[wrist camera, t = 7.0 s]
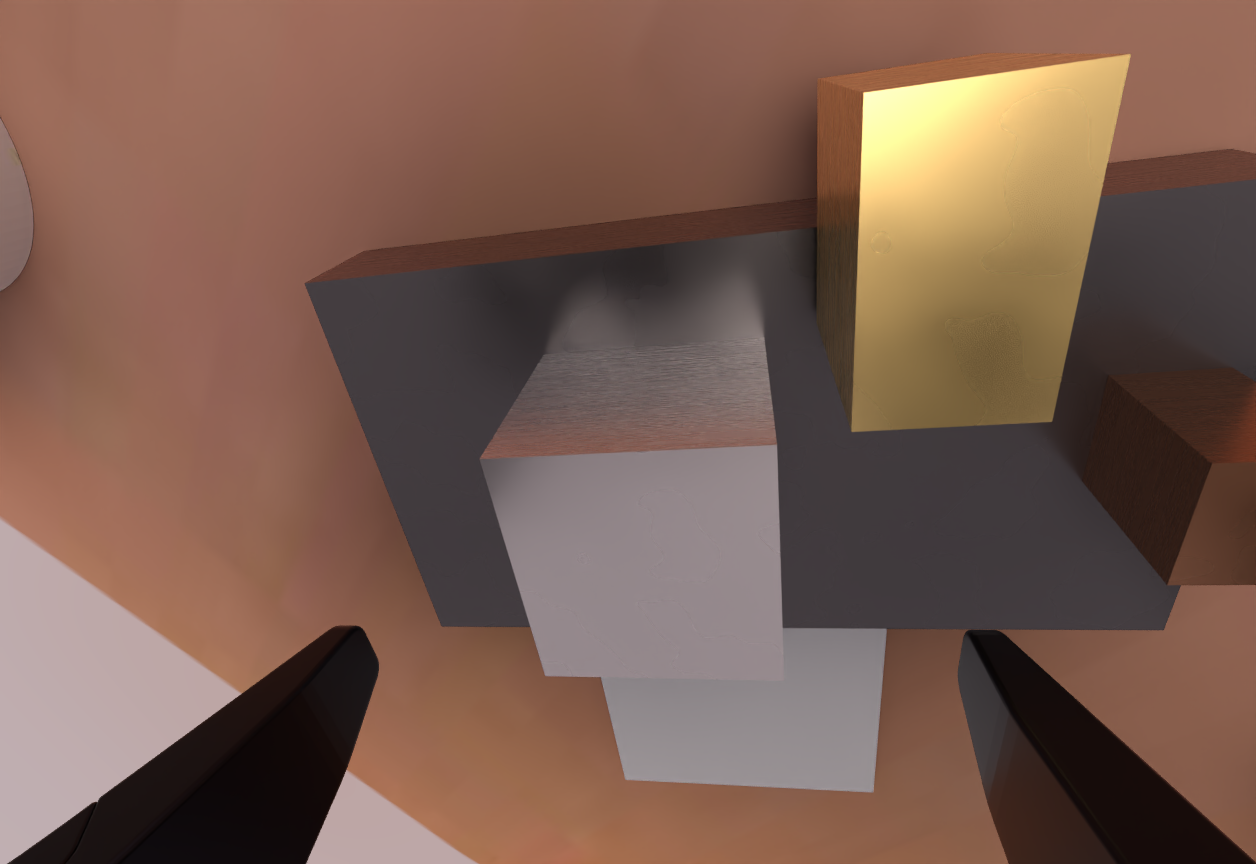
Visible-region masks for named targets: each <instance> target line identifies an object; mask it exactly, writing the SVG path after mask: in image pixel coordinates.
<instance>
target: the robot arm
mask: <svg viewBox="0 0 1256 864" xmlns="http://www.w3.org/2000/svg"><path fill="white" fill-rule="evenodd" d="M378 671H379V662H378V658H377V656H376V654H375V652H374V650H373V648H372V646H371V644H370V642H369V640H368V638H367V636H366V633H365V632H364V630H363V629H362V628H361V627H359V626H335V627H333V628H331V629H330V630H328V631H327V632H325V633H324V634H323V635H321V636H320V637H319V638H317V639H316V640H315V641H313V642H312V643H310V644H309V645H308V646H306V647H305V648H304V649H302V650H301V651H300V652H298V653H297V654H295V655H294V656H293V657H291V658H290V659H289V660H287V661H286V662H285V663H283V664H282V665H280V666H279V667H278V668H276V669H275V670H274V671H272V672H271V673H269V674H268V675H267V676H265V677H264V678H263V679H261V680H260V681H259V682H257V683H256V684H254V685H253V686H252V687H250V688H249V689H248V690H246V691H245V692H244V693H242V694H241V695H239V696H238V697H237V698H235V699H234V700H233V701H231V702H230V703H229V704H227V705H226V706H225V707H223V708H222V709H220V710H219V711H218V712H216V713H215V714H213V715H212V716H211V717H209V718H208V719H207V720H205V721H204V722H202V723H201V724H200V725H198V726H197V727H196V728H194V729H193V730H192V731H190V732H189V733H187V734H186V735H185V736H183V737H182V738H181V739H179V740H178V741H177V742H175V743H174V744H172V745H171V746H170V747H168V748H167V749H166V750H164V751H163V752H161V753H160V754H159V755H157V756H156V757H155V758H153V759H152V760H151V761H149V762H148V763H146V764H145V765H144V766H142V767H141V768H140V769H138V770H137V771H135V772H134V773H133V774H131V775H130V776H129V777H127V778H126V779H125V780H123V781H122V782H120V783H119V784H118V785H116V786H115V787H114V788H112V789H111V790H109V791H108V792H107V793H105V794H104V795H103V796H101V797H100V798H99V800H98V802H94V803H91V804H90V805H89V806H87V807H86V808H85V809H83V810H82V811H81V812H79V813H78V814H77V815H75V816H74V817H72V818H71V819H70V820H68V821H67V822H66V823H64V824H63V825H62V826H60V827H59V828H57V829H56V830H54V831H53V832H52V833H50V834H49V835H48V836H46V837H45V838H43V839H42V840H41V841H39V842H38V843H36V844H35V845H33V846H32V847H31V848H29V849H28V850H26V851H25V852H24V853H22V854H21V855H19V856H18V857H16V858H15V859H14V860H12V861H11V862H9V863H8V864H306V863H307V860H308V858H309V856H310V853H311V851H312V849H313V846H314V844H315V842H316V840H317V837H318V835H319V833H320V830H321V828H322V826H323V823H324V821H325V819H326V817H327V814H328V812H329V809H330V807H331V805H332V803H333V800H334V798H335V796H336V793H337V791H338V789H339V787H340V784H341V782H342V779H343V777H344V774H345V772H346V770H347V767H348V764H349V761H350V759H351V756H352V753H353V750H354V747H355V744H356V741H357V738H358V735H359V732H360V729H361V726H362V722H363V719H364V716H365V713H366V710H367V707H368V704H369V701H370V698H371V695H372V692H373V689H374V686H375V683H376V680H377V676H378ZM958 683H959V689H960V693H961V697H962V701H963V705H964V710H965V714H966V718H967V722H968V726H969V730H970V734H971V738H972V742H973V747H974V751H975V755H976V759H977V763H978V767H979V771H980V775H981V779H982V784H983V787H984V791H985V795H986V799H987V803H988V806H989V809H990V812H991V815H992V818H993V821H994V824H995V827H996V830H997V832H998V835H999V838H1000V841H1001V843H1002V846H1003V849H1004V852H1005V854H1006V857H1007V860H1008V863H1009V864H1256V862H1255V861H1254V860H1253V859H1252V858H1251V857H1249V856H1248V855H1247V854H1246V853H1245V852H1244V851H1243V850H1242V849H1241V848H1239V847H1238V846H1237V845H1236V844H1235V843H1234V842H1233V841H1232V840H1231V839H1230V838H1228V837H1227V836H1226V835H1225V834H1224V833H1223V832H1222V831H1221V830H1220V829H1219V828H1217V827H1216V826H1215V825H1214V824H1213V823H1212V822H1211V821H1210V820H1209V819H1208V818H1206V817H1205V816H1204V815H1203V814H1202V813H1201V812H1200V811H1199V810H1198V809H1196V808H1195V807H1194V806H1193V805H1192V804H1191V803H1190V802H1189V801H1188V800H1187V799H1185V798H1184V797H1183V796H1182V795H1181V794H1180V793H1179V792H1178V791H1177V790H1176V789H1174V788H1173V787H1172V786H1171V785H1170V784H1169V783H1168V782H1167V781H1166V780H1165V779H1163V778H1162V777H1161V776H1160V775H1159V774H1158V773H1157V772H1156V771H1155V770H1153V769H1152V768H1151V767H1150V766H1149V765H1148V764H1147V763H1146V762H1145V761H1144V760H1142V759H1141V758H1140V757H1139V756H1138V755H1137V754H1136V753H1135V752H1134V751H1133V750H1131V749H1130V748H1129V747H1128V746H1127V745H1126V744H1125V743H1124V742H1123V741H1121V740H1120V739H1119V738H1118V737H1117V736H1116V735H1115V734H1114V733H1113V732H1112V731H1110V730H1109V729H1108V728H1107V727H1106V726H1105V725H1104V724H1103V723H1102V722H1101V721H1099V720H1098V719H1097V718H1096V717H1095V716H1094V715H1093V714H1092V713H1091V712H1090V711H1088V710H1087V709H1086V708H1085V707H1084V706H1083V705H1082V704H1081V703H1080V702H1078V701H1077V700H1076V699H1075V698H1074V697H1073V696H1072V695H1071V694H1070V693H1069V692H1067V691H1066V690H1065V689H1064V688H1063V687H1062V686H1061V685H1060V684H1059V683H1058V682H1056V681H1055V680H1054V679H1053V678H1052V677H1051V676H1050V675H1049V674H1048V673H1047V672H1045V671H1044V670H1043V669H1042V668H1041V667H1040V666H1039V665H1038V664H1037V663H1035V662H1034V661H1033V660H1032V659H1031V658H1030V657H1029V656H1028V655H1027V654H1026V653H1024V652H1023V651H1022V650H1021V649H1020V648H1019V647H1018V646H1017V645H1016V644H1015V643H1013V642H1012V641H1011V640H1010V639H1009V638H1008V637H1007V636H1006V635H1004V634H1003V633H1001V632H1000V631H997V630H969V631H967V632H966V633H965V635H964V638H963V643H962V649H961V655H960V661H959V667H958Z"/></svg>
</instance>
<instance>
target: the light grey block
mask: <svg viewBox="0 0 1256 864" xmlns="http://www.w3.org/2000/svg"><path fill="white" fill-rule="evenodd" d="M480 463H481V466H482V469H483V472H484V476H485V479H486V482H487V486H488V489H489V492H490V495H491V499H492V502H493V505H494V509H495V512H496V515H497V518H498V522H499V525H500V528H501V532H502V535H503V538H504V542H505V545H506V548H507V551H508V555H509V558H510V561H511V565H512V568H513V571H514V574H515V578H516V581H517V584H518V588H519V591H520V594H521V598H522V601H523V604H524V607H525V611H526V614H527V617H528V621H529V624H530V627H531V630H532V634H533V637H534V640H535V644H536V647H537V650H538V653H539V657H540V660H541V663H542V667H543V670H544V673H545V676H568V677H617V678H667V679H716V680H765V681H784V658H783V625H782V592H781V560H780V527H779V494H778V461H777V441H776V432H775V424H774V416H773V407H772V399H771V390H770V382H769V374H768V365H767V357H766V349H765V340H764V337H763V338H750V339H737V340H725V341H712V342H699V343H687V344H674V345H661V346H649V347H636V348H624V349H611V350H598V351H586V352H573V353H560V354H548V355H543V357H542V358H541V360H540V362H539V363H538V365H537V367H536V368H535V370H534V371H533V373H532V375H531V376H530V378H529V380H528V381H527V383H526V384H525V386H524V388H523V389H522V391H521V393H520V394H519V396H518V397H517V399H516V401H515V402H514V404H513V406H512V407H511V409H510V410H509V412H508V414H507V415H506V417H505V419H504V420H503V422H502V423H501V425H500V427H499V428H498V430H497V432H496V433H495V435H494V436H493V438H492V440H491V441H490V443H489V445H488V446H487V448H486V449H485V451H484V453H483V454H482V456H481V458H480Z"/></svg>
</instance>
